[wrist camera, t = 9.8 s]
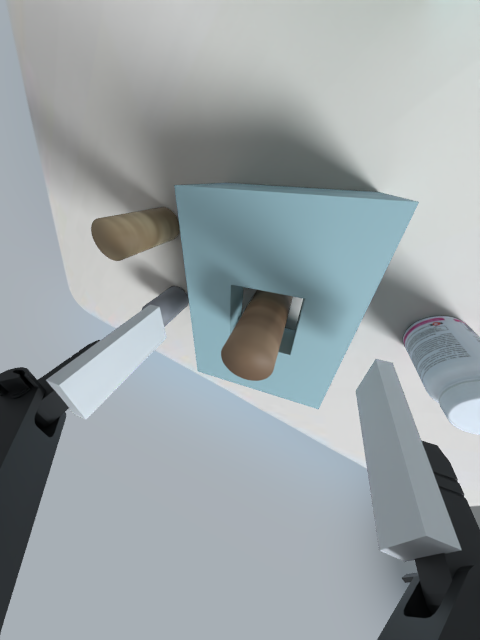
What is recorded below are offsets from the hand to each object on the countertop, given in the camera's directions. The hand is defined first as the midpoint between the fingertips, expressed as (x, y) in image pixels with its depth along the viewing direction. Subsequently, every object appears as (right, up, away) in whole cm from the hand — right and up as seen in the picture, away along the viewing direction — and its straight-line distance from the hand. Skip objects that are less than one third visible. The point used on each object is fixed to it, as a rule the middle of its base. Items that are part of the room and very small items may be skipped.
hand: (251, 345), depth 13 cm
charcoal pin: (-9, +5, +14) cm, 18 cm away
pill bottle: (+18, 0, +7) cm, 19 cm away
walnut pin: (+4, +6, +8) cm, 11 cm away
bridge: (+3, +6, +8) cm, 11 cm away
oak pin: (-9, +12, +9) cm, 17 cm away
